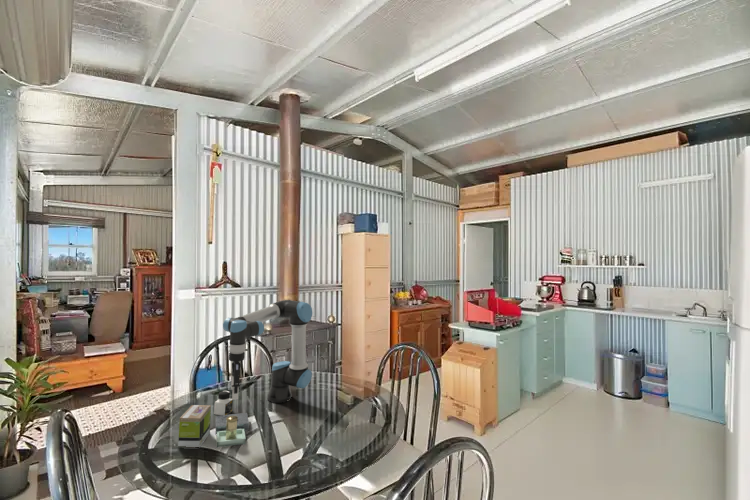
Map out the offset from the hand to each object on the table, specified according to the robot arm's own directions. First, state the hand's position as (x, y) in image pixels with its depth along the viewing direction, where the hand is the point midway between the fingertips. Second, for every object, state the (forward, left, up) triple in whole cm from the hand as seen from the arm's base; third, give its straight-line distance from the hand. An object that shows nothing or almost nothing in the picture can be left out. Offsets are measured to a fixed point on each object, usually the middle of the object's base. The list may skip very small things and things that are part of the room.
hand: (234, 394), depth 188 cm
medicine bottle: (+3, -32, -23) cm, 40 cm away
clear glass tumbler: (0, +1, -22) cm, 22 cm away
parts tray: (0, +1, -23) cm, 23 cm away
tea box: (+17, -3, -23) cm, 29 cm away
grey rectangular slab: (-1, -13, -23) cm, 26 cm away
